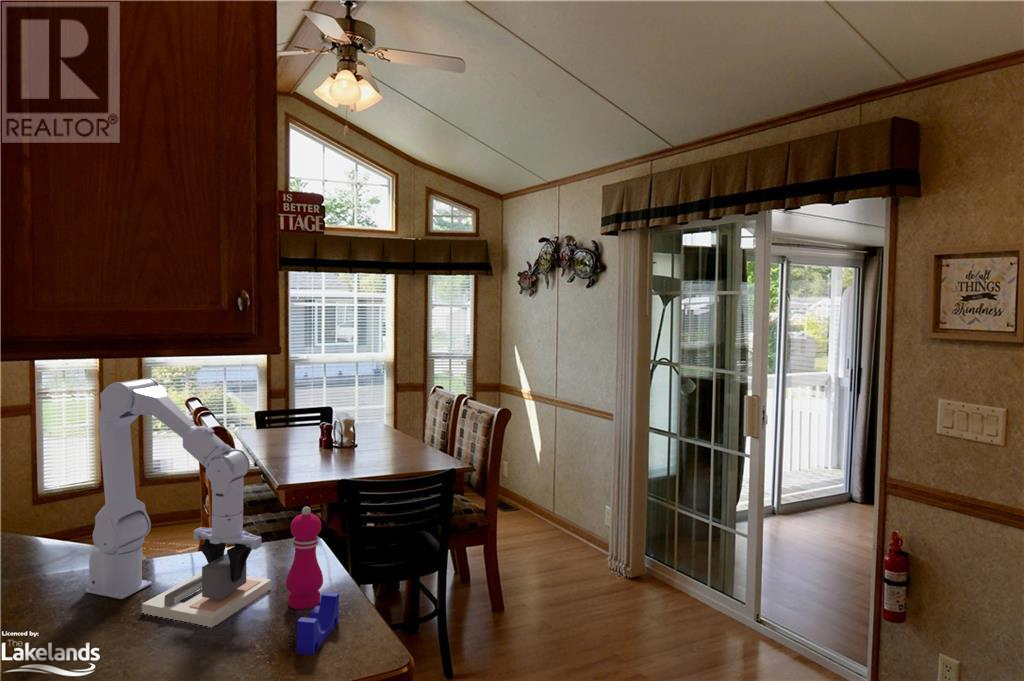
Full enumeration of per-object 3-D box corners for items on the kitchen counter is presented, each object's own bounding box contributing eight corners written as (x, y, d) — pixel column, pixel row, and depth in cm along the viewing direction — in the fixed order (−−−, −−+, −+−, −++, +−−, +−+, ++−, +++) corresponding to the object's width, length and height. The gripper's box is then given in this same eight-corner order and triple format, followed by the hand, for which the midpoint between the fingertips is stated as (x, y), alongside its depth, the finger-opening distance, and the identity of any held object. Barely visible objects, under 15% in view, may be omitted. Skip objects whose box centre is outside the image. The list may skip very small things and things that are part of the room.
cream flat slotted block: (142, 613, 129) (142, 592, 129) (207, 577, 147) (208, 558, 146) (211, 628, 125) (211, 606, 125) (271, 588, 142) (271, 569, 142)
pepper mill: (307, 591, 142) (310, 499, 141) (330, 601, 138) (332, 506, 136) (278, 603, 136) (280, 506, 135) (300, 614, 132) (302, 515, 131)
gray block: (202, 596, 131) (201, 567, 130) (229, 579, 139) (229, 551, 138) (219, 600, 130) (219, 570, 129) (246, 582, 137) (246, 554, 137)
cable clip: (315, 621, 130) (316, 590, 130) (338, 623, 130) (339, 593, 129) (288, 653, 118) (289, 620, 118) (313, 655, 118) (313, 622, 117)
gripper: (182, 513, 132) (181, 580, 133) (245, 523, 128) (244, 592, 129) (208, 503, 139) (207, 567, 139) (268, 512, 135) (267, 577, 136)
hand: (226, 578), depth 135 cm, fingers closed on gray block, 4 cm apart
